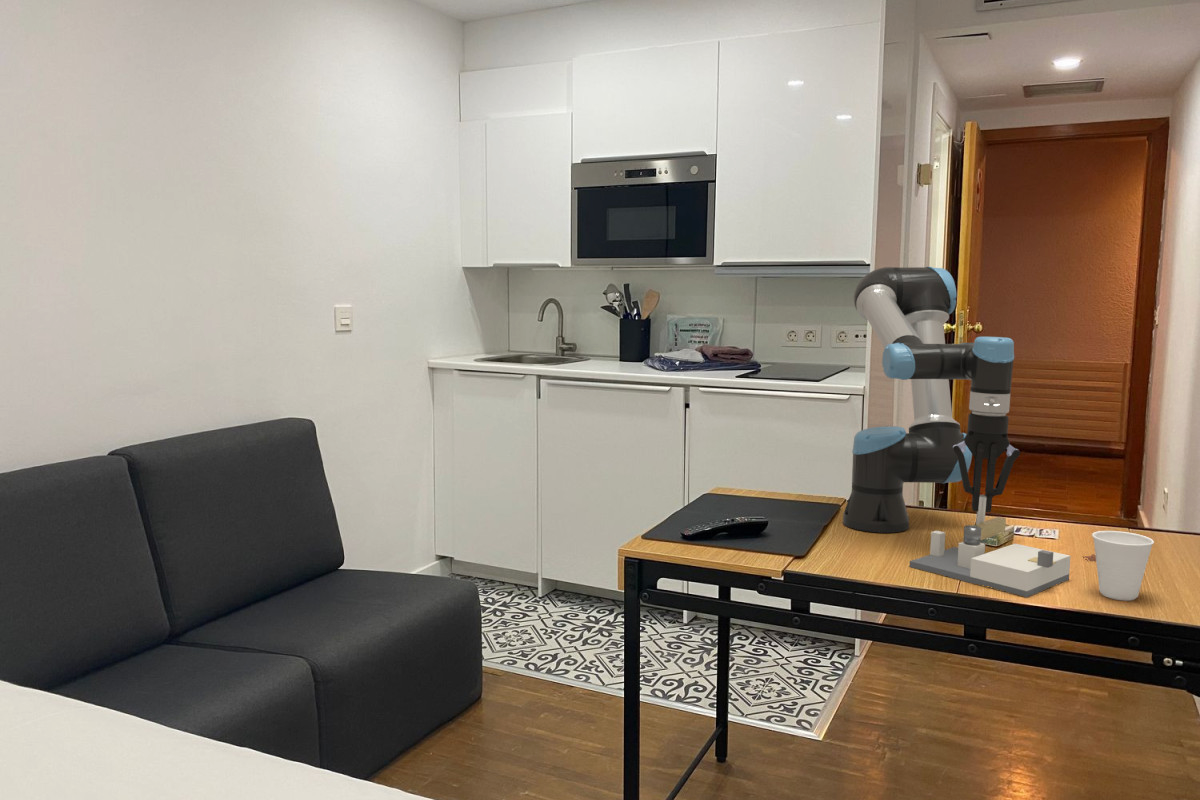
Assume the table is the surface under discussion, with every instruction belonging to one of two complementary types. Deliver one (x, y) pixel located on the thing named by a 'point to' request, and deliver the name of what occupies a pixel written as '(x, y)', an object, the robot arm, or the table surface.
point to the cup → (1121, 562)
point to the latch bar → (983, 530)
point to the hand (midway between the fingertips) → (980, 527)
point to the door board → (964, 573)
